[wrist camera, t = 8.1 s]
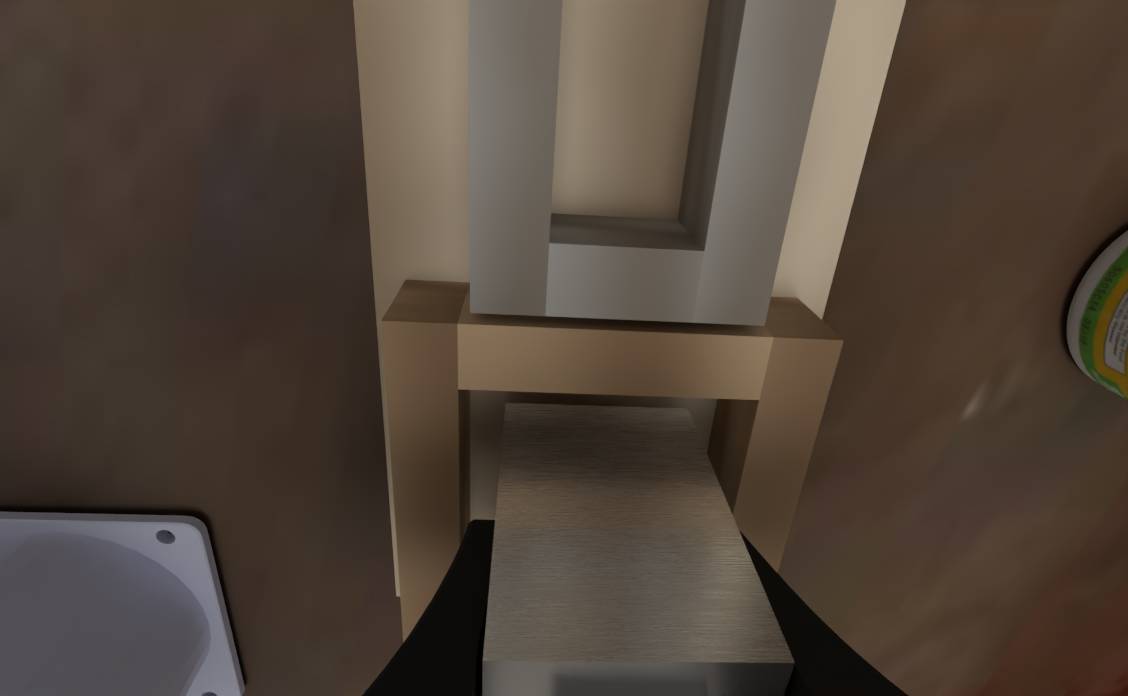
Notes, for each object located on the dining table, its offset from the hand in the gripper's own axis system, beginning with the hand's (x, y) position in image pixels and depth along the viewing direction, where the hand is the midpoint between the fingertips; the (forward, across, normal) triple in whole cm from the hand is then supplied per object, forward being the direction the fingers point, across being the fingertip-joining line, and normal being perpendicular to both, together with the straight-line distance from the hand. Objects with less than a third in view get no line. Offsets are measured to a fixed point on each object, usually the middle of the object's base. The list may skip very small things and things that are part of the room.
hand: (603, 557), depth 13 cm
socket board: (+5, 0, -6) cm, 7 cm away
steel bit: (+3, 0, 0) cm, 3 cm away
